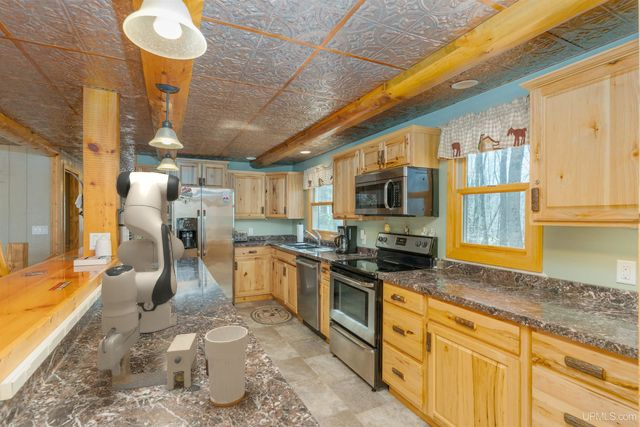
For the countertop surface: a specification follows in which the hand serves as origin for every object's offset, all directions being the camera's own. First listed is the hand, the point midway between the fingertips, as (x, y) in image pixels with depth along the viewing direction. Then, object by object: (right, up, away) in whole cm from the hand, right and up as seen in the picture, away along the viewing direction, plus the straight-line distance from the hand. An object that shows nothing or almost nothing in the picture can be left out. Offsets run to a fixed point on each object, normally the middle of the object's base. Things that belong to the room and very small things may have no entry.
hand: (120, 369), depth 89 cm
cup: (+33, -5, -6) cm, 34 cm away
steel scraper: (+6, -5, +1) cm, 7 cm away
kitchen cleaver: (+22, -5, +17) cm, 28 cm away
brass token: (+17, -5, +4) cm, 18 cm away
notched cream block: (+17, -4, +4) cm, 18 cm away
